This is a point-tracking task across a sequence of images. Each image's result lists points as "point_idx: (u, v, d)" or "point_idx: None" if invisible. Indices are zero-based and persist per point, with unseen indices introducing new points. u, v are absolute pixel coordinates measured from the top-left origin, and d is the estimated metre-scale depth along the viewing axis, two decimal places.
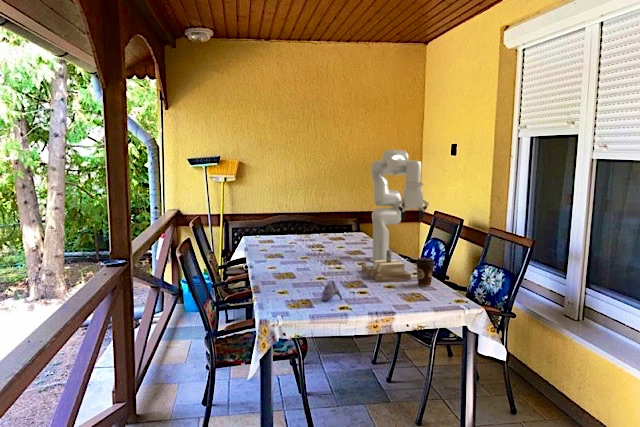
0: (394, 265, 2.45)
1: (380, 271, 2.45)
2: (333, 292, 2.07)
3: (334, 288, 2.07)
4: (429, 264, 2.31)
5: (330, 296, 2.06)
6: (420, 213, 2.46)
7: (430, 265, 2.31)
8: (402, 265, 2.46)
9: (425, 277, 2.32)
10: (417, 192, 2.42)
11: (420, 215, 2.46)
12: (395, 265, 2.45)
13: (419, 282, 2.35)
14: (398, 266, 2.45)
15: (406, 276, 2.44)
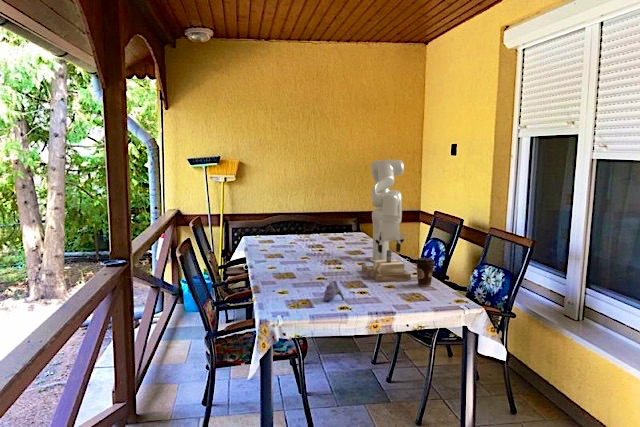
0: (394, 265, 2.45)
1: (380, 271, 2.45)
2: (334, 292, 2.07)
3: (336, 288, 2.07)
4: (429, 264, 2.31)
5: (332, 296, 2.06)
6: (397, 246, 2.50)
7: (430, 265, 2.31)
8: (402, 265, 2.46)
9: (425, 277, 2.32)
10: (394, 225, 2.46)
11: (397, 248, 2.50)
12: (395, 265, 2.45)
13: (419, 282, 2.35)
14: (398, 266, 2.45)
15: (406, 276, 2.44)
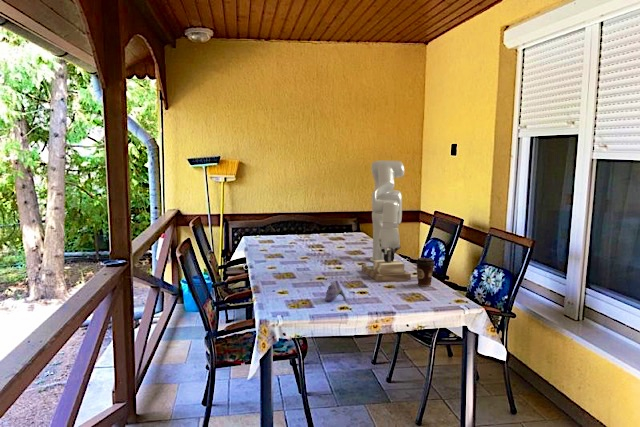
0: (394, 265, 2.45)
1: (380, 271, 2.45)
2: (336, 292, 2.07)
3: (338, 288, 2.07)
4: (429, 264, 2.31)
5: (334, 296, 2.06)
6: (391, 255, 2.50)
7: (430, 265, 2.31)
8: (402, 265, 2.46)
9: (425, 277, 2.32)
10: (393, 232, 2.46)
11: (391, 257, 2.50)
12: (395, 265, 2.45)
13: (419, 282, 2.35)
14: (398, 266, 2.45)
15: (406, 276, 2.44)
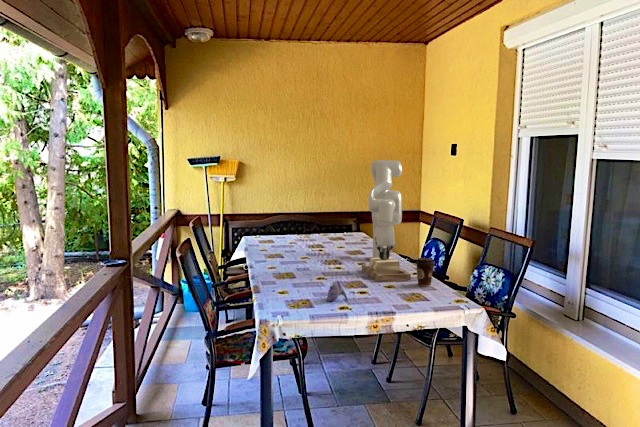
0: (389, 262, 2.51)
1: (376, 268, 2.51)
2: (338, 292, 2.07)
3: (339, 288, 2.07)
4: (429, 264, 2.31)
5: (335, 296, 2.06)
6: None
7: (430, 265, 2.31)
8: (397, 262, 2.52)
9: (425, 277, 2.32)
10: (389, 231, 2.52)
11: None
12: (390, 262, 2.51)
13: (419, 282, 2.35)
14: (393, 263, 2.51)
15: (406, 276, 2.44)
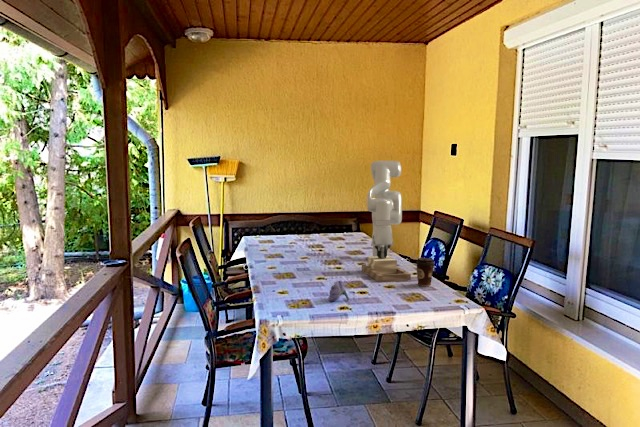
0: (387, 261, 2.54)
1: (374, 267, 2.54)
2: (339, 292, 2.07)
3: (341, 288, 2.07)
4: (429, 264, 2.31)
5: (337, 296, 2.06)
6: (384, 251, 2.59)
7: (430, 265, 2.31)
8: (395, 261, 2.55)
9: (425, 277, 2.32)
10: (386, 230, 2.56)
11: (384, 253, 2.59)
12: (388, 261, 2.54)
13: (419, 282, 2.35)
14: (391, 262, 2.54)
15: (406, 276, 2.44)
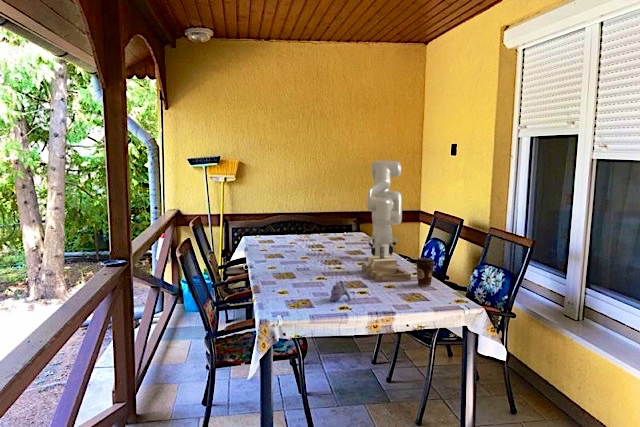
0: (387, 261, 2.54)
1: (374, 267, 2.54)
2: (341, 293, 2.07)
3: (342, 288, 2.07)
4: (429, 264, 2.31)
5: (339, 296, 2.06)
6: (390, 248, 2.60)
7: (430, 265, 2.31)
8: (395, 261, 2.55)
9: (425, 277, 2.32)
10: (386, 229, 2.56)
11: (390, 250, 2.60)
12: (388, 261, 2.54)
13: (419, 282, 2.35)
14: (391, 262, 2.54)
15: (406, 276, 2.44)
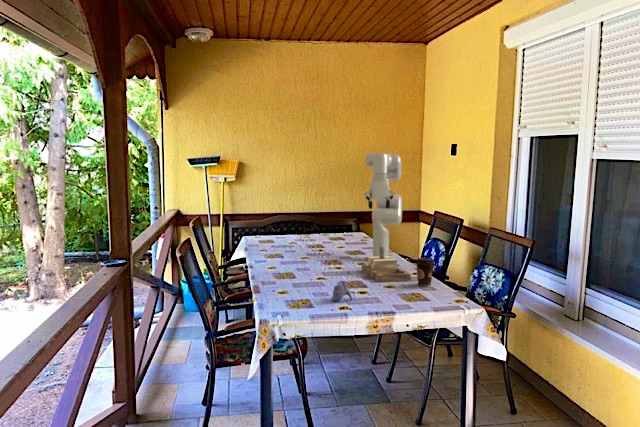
0: (387, 261, 2.54)
1: (374, 267, 2.54)
2: (343, 293, 2.07)
3: (344, 288, 2.07)
4: (429, 264, 2.31)
5: (340, 296, 2.06)
6: (387, 202, 2.63)
7: (430, 265, 2.31)
8: (395, 261, 2.55)
9: (425, 277, 2.32)
10: (383, 183, 2.59)
11: (387, 204, 2.63)
12: (388, 261, 2.54)
13: (419, 282, 2.35)
14: (391, 262, 2.54)
15: (406, 276, 2.44)
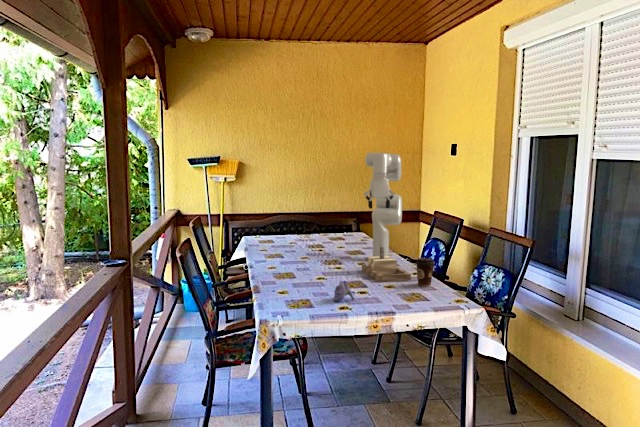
0: (387, 261, 2.54)
1: (374, 267, 2.54)
2: (344, 293, 2.07)
3: (346, 288, 2.07)
4: (429, 264, 2.31)
5: (342, 296, 2.06)
6: (386, 202, 2.63)
7: (430, 265, 2.31)
8: (395, 261, 2.55)
9: (425, 277, 2.32)
10: (383, 182, 2.59)
11: (386, 204, 2.63)
12: (388, 261, 2.54)
13: (419, 282, 2.35)
14: (391, 262, 2.54)
15: (406, 276, 2.44)
